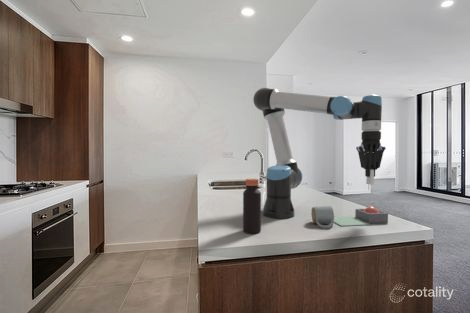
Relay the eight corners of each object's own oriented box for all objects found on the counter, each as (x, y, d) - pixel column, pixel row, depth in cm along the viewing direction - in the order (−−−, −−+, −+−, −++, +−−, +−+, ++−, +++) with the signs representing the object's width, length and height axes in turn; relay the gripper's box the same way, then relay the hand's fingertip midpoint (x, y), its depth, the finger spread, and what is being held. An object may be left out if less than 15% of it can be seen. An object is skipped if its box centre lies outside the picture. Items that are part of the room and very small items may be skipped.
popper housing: (368, 223, 102) (369, 214, 102) (355, 217, 111) (355, 209, 111) (387, 222, 103) (388, 213, 103) (373, 216, 112) (373, 208, 112)
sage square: (341, 226, 98) (341, 225, 98) (324, 217, 111) (324, 216, 111) (370, 225, 100) (370, 224, 100) (350, 216, 113) (350, 215, 113)
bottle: (260, 234, 88) (260, 180, 88) (241, 233, 90) (241, 180, 89) (261, 228, 95) (261, 178, 95) (244, 227, 96) (244, 178, 96)
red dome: (369, 220, 104) (369, 208, 103) (359, 216, 110) (360, 205, 110) (382, 219, 105) (383, 208, 104) (372, 215, 111) (372, 204, 111)
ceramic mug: (310, 220, 106) (310, 203, 106) (330, 221, 105) (330, 204, 105) (315, 228, 96) (315, 209, 96) (336, 229, 95) (337, 210, 94)
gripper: (363, 130, 101) (362, 185, 102) (391, 130, 103) (389, 185, 104) (352, 131, 109) (351, 183, 110) (378, 131, 111) (376, 182, 111)
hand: (370, 184), depth 107 cm, fingers closed
